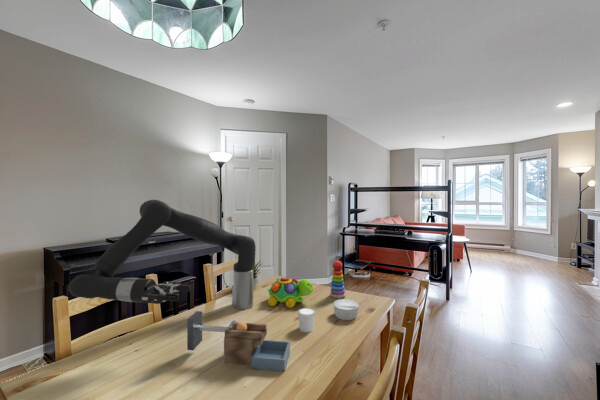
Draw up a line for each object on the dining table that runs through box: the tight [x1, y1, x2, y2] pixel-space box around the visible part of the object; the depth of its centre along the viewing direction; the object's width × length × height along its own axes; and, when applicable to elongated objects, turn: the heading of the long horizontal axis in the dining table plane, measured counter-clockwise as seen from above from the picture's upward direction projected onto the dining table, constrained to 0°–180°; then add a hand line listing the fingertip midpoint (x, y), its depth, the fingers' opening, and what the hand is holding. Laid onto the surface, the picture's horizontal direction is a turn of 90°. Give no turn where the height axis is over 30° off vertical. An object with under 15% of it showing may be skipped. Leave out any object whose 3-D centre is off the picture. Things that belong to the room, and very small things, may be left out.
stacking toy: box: [329, 260, 346, 299], centre depth 142 cm, size 8×8×19 cm
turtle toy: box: [267, 276, 314, 309], centre depth 134 cm, size 17×23×12 cm
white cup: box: [297, 307, 316, 333], centre depth 107 cm, size 7×7×7 cm
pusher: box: [186, 310, 237, 351], centre depth 89 cm, size 14×6×10 cm, turn 83°
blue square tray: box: [251, 339, 291, 372], centre depth 87 cm, size 10×10×4 cm
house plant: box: [253, 260, 264, 290], centre depth 154 cm, size 14×14×16 cm
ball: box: [236, 321, 247, 331], centre depth 88 cm, size 4×4×4 cm
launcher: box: [223, 321, 268, 366], centre depth 88 cm, size 12×7×10 cm, turn 83°
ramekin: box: [332, 298, 360, 321], centre depth 119 cm, size 11×11×5 cm
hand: (184, 293), depth 89 cm, fingers open, 8 cm apart
